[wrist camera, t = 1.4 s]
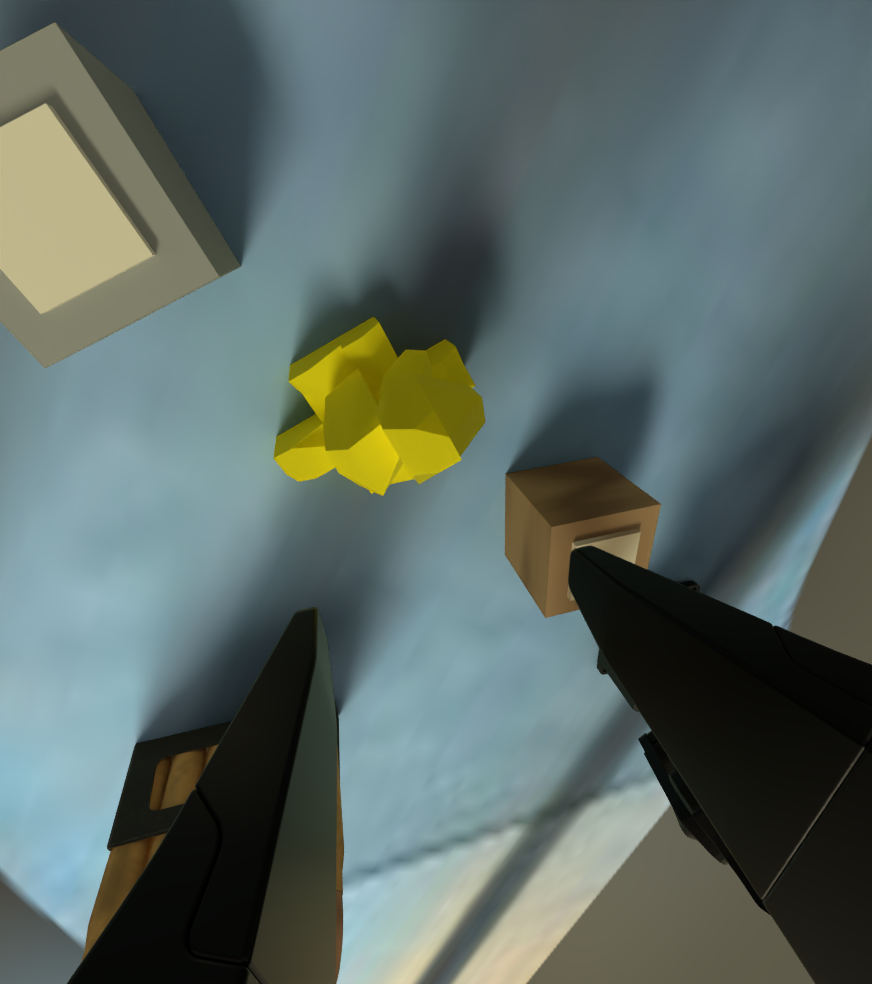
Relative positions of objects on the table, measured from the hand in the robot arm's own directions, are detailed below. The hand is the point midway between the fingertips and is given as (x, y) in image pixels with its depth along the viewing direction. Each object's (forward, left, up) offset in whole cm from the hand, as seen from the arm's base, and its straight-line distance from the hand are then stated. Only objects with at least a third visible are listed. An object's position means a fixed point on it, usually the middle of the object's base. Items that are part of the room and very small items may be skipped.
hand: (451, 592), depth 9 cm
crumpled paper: (0, 0, -12) cm, 12 cm away
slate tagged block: (+7, -7, -12) cm, 16 cm away
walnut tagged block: (-8, +7, -12) cm, 16 cm away
